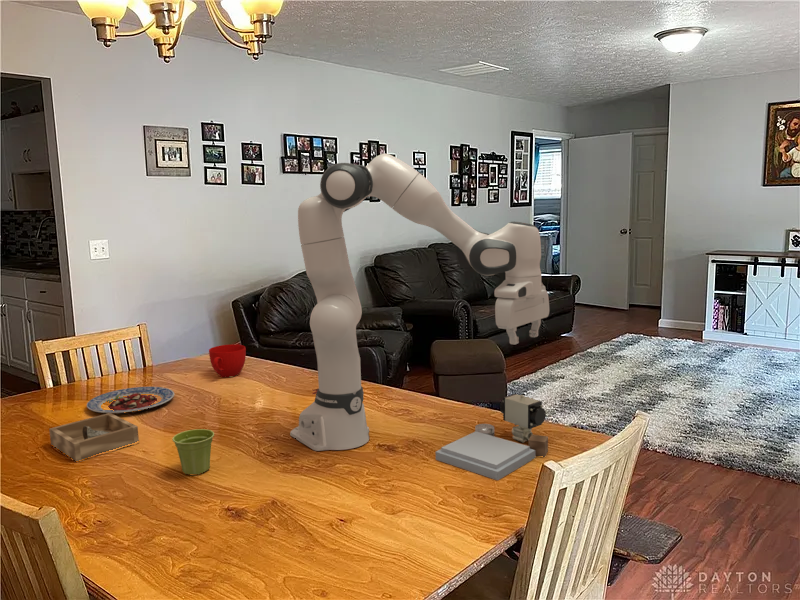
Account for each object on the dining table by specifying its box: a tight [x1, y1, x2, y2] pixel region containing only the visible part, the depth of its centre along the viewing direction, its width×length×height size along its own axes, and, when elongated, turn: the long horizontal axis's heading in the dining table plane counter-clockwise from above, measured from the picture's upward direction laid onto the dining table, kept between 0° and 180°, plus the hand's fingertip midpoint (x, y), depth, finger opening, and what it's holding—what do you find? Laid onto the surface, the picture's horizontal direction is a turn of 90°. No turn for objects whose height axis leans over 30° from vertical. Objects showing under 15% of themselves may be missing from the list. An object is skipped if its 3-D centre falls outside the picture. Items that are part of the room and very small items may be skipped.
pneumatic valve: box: [499, 393, 547, 444], centre depth 166 cm, size 6×12×12 cm, turn 39°
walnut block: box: [528, 434, 549, 458], centre depth 158 cm, size 4×4×4 cm
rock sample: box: [82, 426, 110, 440], centre depth 170 cm, size 10×8×9 cm
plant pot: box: [172, 428, 215, 475], centre depth 152 cm, size 9×9×9 cm
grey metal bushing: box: [474, 423, 495, 437], centre depth 170 cm, size 5×5×2 cm
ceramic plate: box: [86, 386, 175, 414], centre depth 204 cm, size 26×26×3 cm
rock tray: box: [48, 413, 140, 462], centre depth 170 cm, size 17×16×5 cm
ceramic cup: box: [208, 343, 247, 378], centre depth 233 cm, size 13×17×10 cm
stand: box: [435, 430, 536, 481], centre depth 155 cm, size 18×16×3 cm
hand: (524, 340), depth 163 cm, fingers open, 8 cm apart
